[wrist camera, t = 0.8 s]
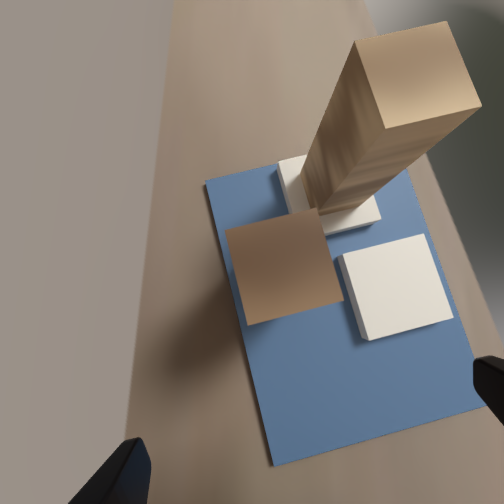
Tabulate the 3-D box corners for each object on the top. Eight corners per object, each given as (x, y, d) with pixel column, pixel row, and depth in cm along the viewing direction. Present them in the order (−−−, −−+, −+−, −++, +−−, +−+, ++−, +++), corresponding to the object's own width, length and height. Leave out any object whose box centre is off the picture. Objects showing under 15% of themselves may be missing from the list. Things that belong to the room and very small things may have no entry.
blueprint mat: (484, 401, 23) (507, 412, 21) (273, 462, 22) (276, 479, 20) (391, 139, 27) (403, 126, 25) (206, 183, 26) (202, 173, 24)
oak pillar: (358, 206, 23) (482, 106, 11) (312, 217, 23) (385, 128, 11) (344, 162, 24) (446, 20, 12) (299, 173, 24) (354, 41, 11)
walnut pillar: (294, 297, 24) (344, 300, 11) (248, 309, 23) (247, 325, 11) (282, 252, 24) (316, 207, 12) (237, 263, 24) (224, 230, 12)
